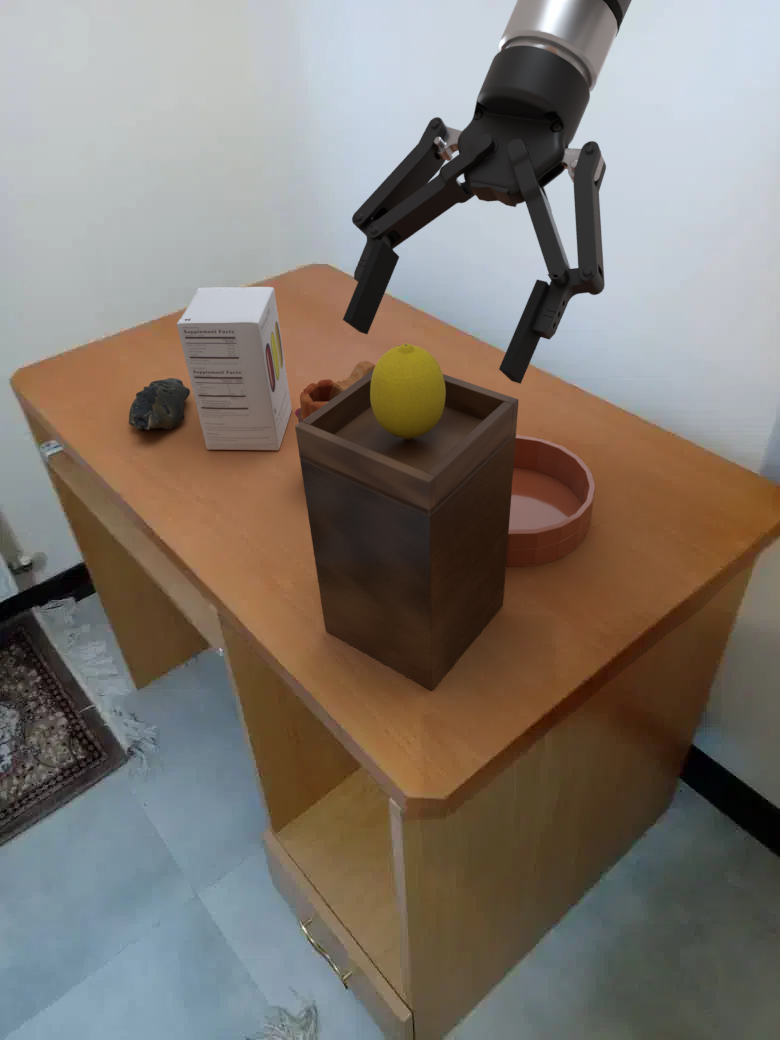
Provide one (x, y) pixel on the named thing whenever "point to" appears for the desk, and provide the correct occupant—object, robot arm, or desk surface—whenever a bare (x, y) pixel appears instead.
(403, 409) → the lemon
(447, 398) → the tray
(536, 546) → the bowl
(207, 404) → the supplement box
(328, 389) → the mug
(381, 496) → the stand
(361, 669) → the desk surface
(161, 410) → the stone
